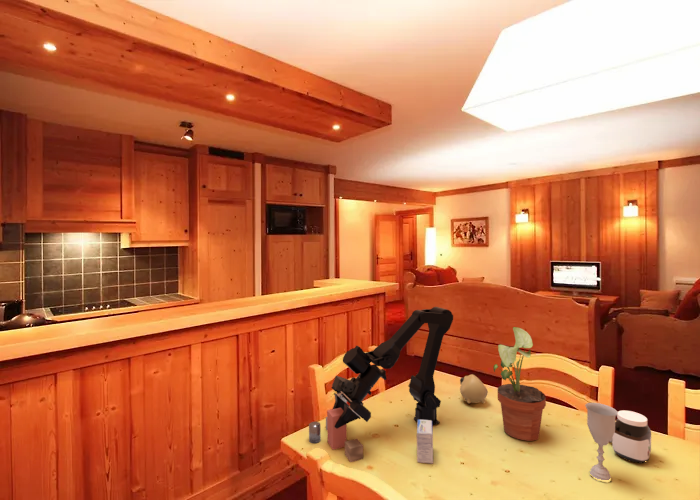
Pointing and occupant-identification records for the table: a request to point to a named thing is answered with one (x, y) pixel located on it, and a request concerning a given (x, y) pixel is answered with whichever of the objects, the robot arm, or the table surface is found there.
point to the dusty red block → (336, 435)
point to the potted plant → (519, 393)
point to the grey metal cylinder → (314, 432)
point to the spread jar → (632, 436)
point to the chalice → (601, 433)
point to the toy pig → (473, 389)
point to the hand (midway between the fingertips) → (332, 423)
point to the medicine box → (424, 441)
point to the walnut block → (353, 450)
